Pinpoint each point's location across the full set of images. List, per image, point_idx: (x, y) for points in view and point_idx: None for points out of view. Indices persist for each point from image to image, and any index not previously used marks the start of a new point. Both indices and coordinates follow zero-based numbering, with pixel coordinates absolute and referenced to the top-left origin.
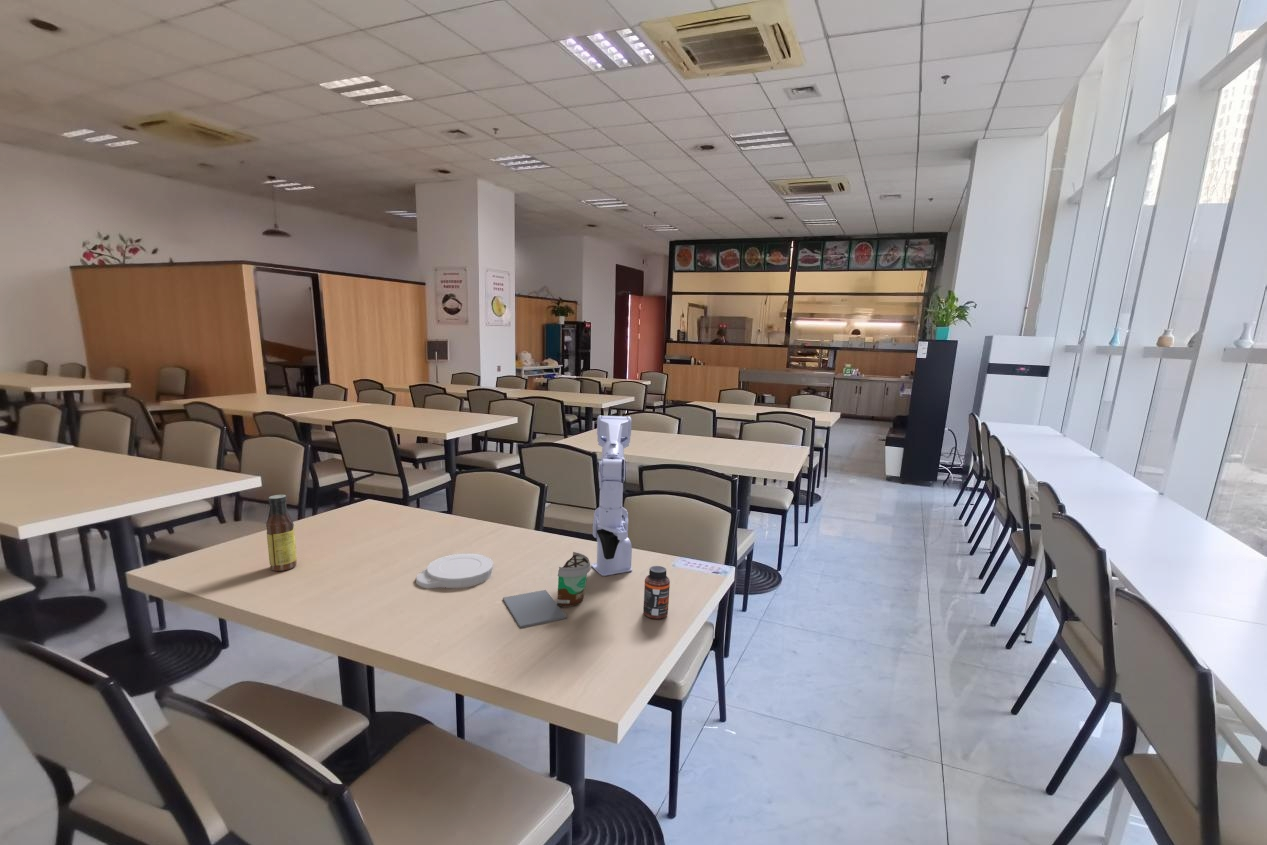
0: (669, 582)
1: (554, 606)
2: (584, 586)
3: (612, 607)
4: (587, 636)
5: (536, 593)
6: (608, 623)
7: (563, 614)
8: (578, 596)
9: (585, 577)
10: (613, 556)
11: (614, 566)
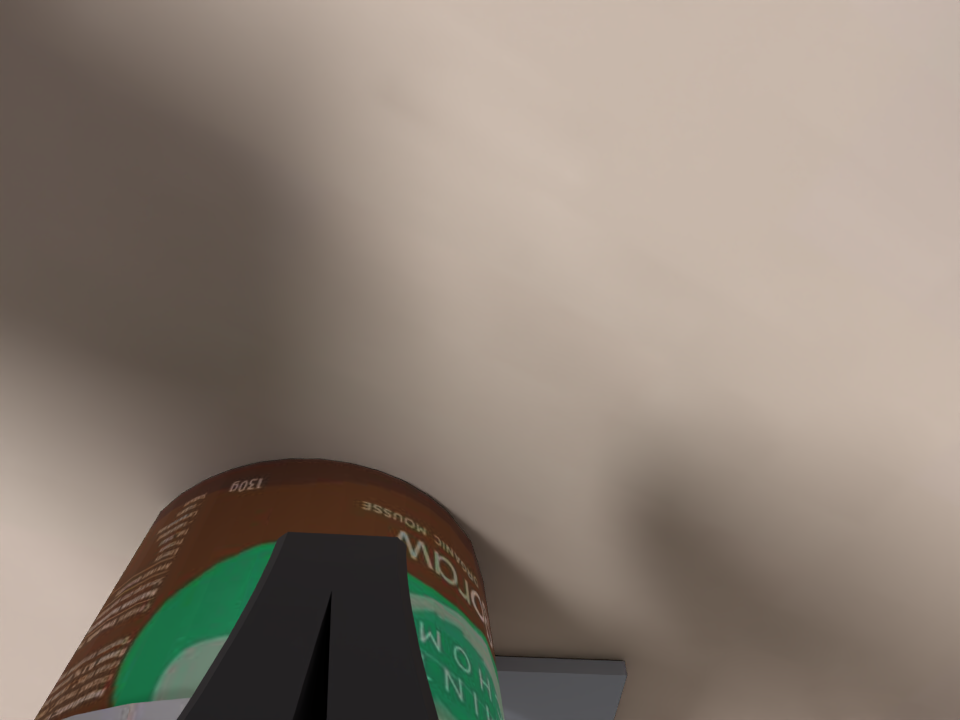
0: None
1: None
2: (439, 612)
3: (696, 323)
4: (932, 644)
5: None
6: (909, 476)
7: (587, 681)
8: (481, 611)
9: (459, 717)
10: (405, 582)
11: None
